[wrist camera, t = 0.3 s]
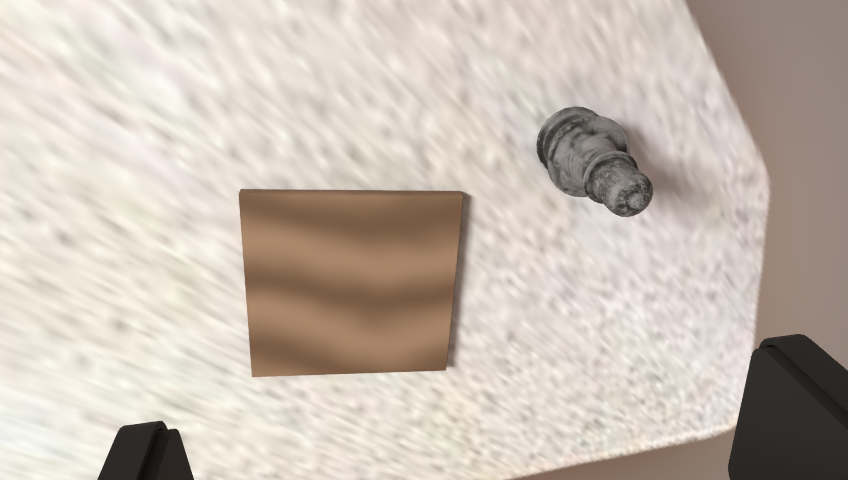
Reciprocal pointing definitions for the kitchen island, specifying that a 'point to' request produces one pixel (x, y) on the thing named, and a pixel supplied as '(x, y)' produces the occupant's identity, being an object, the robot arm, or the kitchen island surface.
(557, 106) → the kitchen island surface
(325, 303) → the walnut board
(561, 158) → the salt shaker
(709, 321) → the kitchen island surface
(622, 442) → the kitchen island surface
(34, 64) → the kitchen island surface
